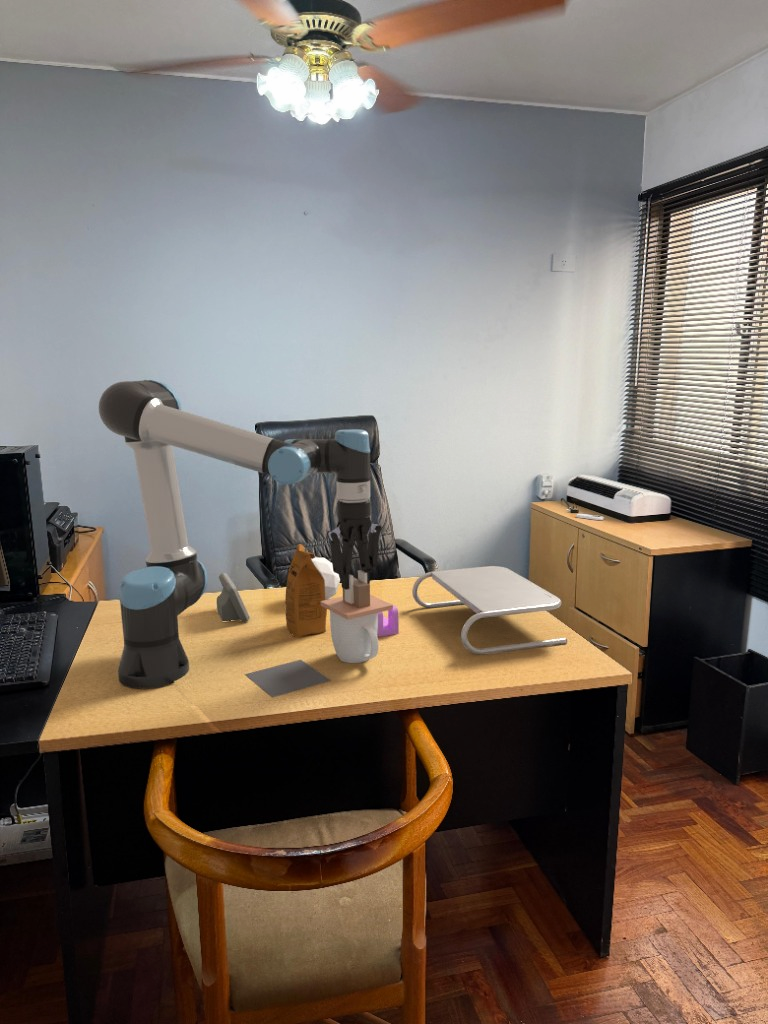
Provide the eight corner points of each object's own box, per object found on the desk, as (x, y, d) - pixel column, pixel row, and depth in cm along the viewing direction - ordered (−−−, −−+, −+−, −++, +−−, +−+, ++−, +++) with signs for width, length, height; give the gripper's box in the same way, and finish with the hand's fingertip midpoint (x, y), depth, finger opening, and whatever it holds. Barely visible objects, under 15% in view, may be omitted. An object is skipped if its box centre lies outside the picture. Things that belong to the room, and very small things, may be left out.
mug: (396, 667, 164) (396, 612, 161) (355, 678, 158) (354, 622, 155) (362, 646, 176) (361, 595, 173) (322, 656, 170) (321, 604, 167)
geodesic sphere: (335, 593, 199) (338, 547, 205) (286, 593, 200) (290, 547, 206) (341, 609, 212) (343, 566, 218) (295, 609, 213) (298, 566, 219)
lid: (347, 619, 157) (347, 593, 156) (320, 605, 167) (319, 580, 165) (392, 609, 163) (392, 583, 162) (364, 595, 173) (363, 571, 172)
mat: (272, 700, 148) (272, 697, 148) (244, 676, 160) (244, 674, 159) (331, 682, 156) (331, 680, 156) (300, 661, 167) (300, 659, 167)
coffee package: (319, 619, 195) (316, 540, 191) (330, 635, 184) (327, 551, 179) (282, 624, 192) (279, 544, 188) (291, 640, 181) (288, 555, 176)
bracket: (398, 634, 184) (398, 608, 183) (378, 637, 183) (377, 610, 181) (380, 618, 196) (380, 593, 195) (361, 620, 194) (361, 596, 193)
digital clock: (250, 624, 193) (248, 586, 190) (215, 626, 191) (213, 588, 189) (249, 605, 208) (248, 569, 206) (217, 607, 207) (215, 571, 205)
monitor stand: (568, 644, 176) (569, 602, 174) (462, 658, 169) (462, 615, 167) (502, 599, 211) (502, 564, 209) (411, 609, 204) (411, 572, 201)
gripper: (331, 506, 153) (334, 611, 157) (393, 497, 161) (394, 598, 166) (313, 501, 159) (317, 603, 163) (374, 493, 168) (376, 590, 172)
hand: (356, 600), depth 165 cm, fingers closed on lid, 3 cm apart
